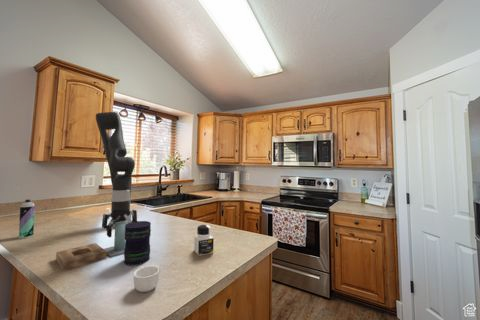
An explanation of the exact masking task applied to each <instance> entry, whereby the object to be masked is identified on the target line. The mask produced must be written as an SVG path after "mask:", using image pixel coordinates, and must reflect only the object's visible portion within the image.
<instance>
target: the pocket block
mask: <svg viewBox="0 0 480 320" xmlns="http://www.w3.org/2000/svg"><path fill="white" fill-rule="evenodd" d="M104 249H105V248H103V247H101V246H100V245H99V244H98V243H97V242H94V243H91V244H90V243H89V244H86V245H82V246H77V247H73V248H68V249H64V250H59V251H56V253H55V261H57V263H58V265H59V267H60V268H61V269H62V271H65V272H66V271H68V270H71V269H74V268H78V267H81V266H84V265H89V264H91V263H95V262H98V261H102V260H106V259H107V254H106V251H105V250H104Z"/></svg>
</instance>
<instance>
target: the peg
mask: <svg viewBox="0 0 480 320" xmlns="http://www.w3.org/2000/svg"><path fill="white" fill-rule="evenodd" d="M125 225H126V222H117V223H115V228H114V243H113V246H114V250H115V251H120V250H124V249H125Z"/></svg>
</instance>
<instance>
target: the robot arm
mask: <svg viewBox="0 0 480 320" xmlns="http://www.w3.org/2000/svg"><path fill="white" fill-rule="evenodd" d="M95 120H96V121H95V122H96V125H97V128H98V131H99V134H100V137H101V141H102V146H103V151H104V153H105V158H106V162H107V164H108V168H109V174H110V181H111V182H110V183H111V185H112V193H111V207H110V209H111V212H110V213H108V214H106V213H103V215H102V221H101V222H102V223H101V228H103V229H104V230H105V229H106V236H107V237H108V238H112V236H113V235H112V233H113V230H112V229H113V228H114V229H115V223H117V222H126V224H128V223H131V222H136V221H138V219H137V218H138V212H137V210H136V209H132V210H131V193H132V183H133V181H132V180H133V177H132V175H133V173H134V169H135V165H136V162H135V159H134V158H133V157H131V156H130V157H129V156H127V154H128V151H127V147H126V144H125V141H124V140H125V139H124V133H123V125H122V121H121V117H120V115H119V113H118V112H117V111H109V112H108V111H107V112H97V113H96V115H95ZM110 130H111V131H112V130H114V132H113V133H112V135H110V134H109V133H108V131H110ZM122 172H123V174H120V173H122ZM110 218H111V219H110ZM109 219H110V220H109ZM108 220H109V222H108ZM112 227H113V228H112Z"/></svg>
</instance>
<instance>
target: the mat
mask: <svg viewBox="0 0 480 320" xmlns="http://www.w3.org/2000/svg"><path fill="white" fill-rule="evenodd" d="M103 249H104V250H105V251H106V256H108V257H109V258H114V257H118V256H121V255H124V250H120V251H115V250H114V245H112V246H110V247H106V248H103Z"/></svg>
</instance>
